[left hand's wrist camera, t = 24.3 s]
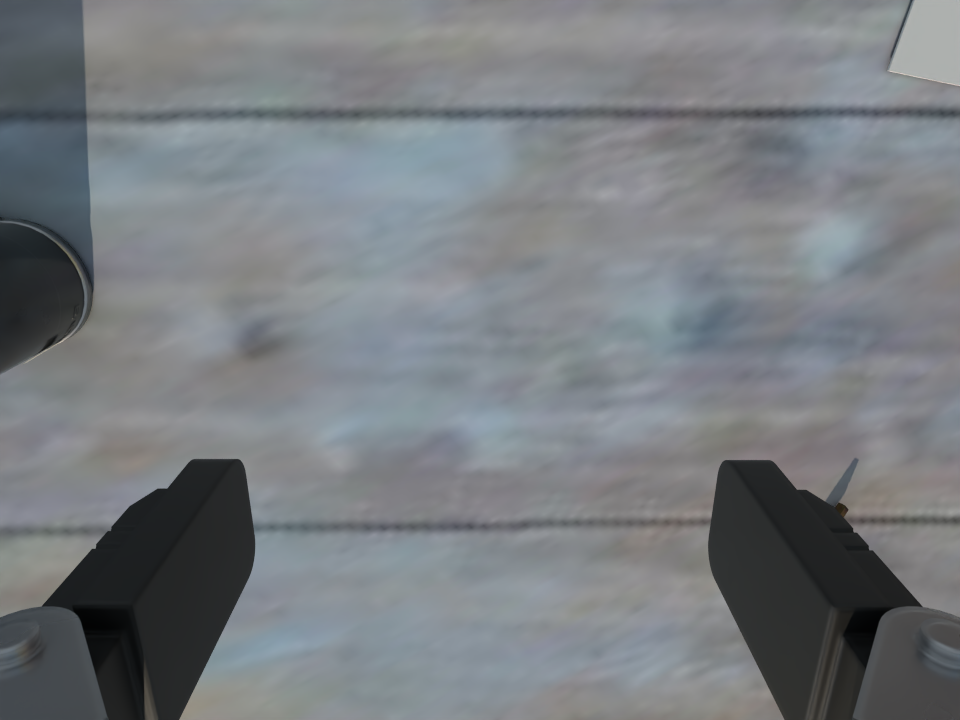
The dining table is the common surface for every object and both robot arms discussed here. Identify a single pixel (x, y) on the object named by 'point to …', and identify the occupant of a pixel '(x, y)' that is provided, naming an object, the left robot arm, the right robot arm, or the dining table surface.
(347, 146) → the dining table surface
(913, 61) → the invitation card
